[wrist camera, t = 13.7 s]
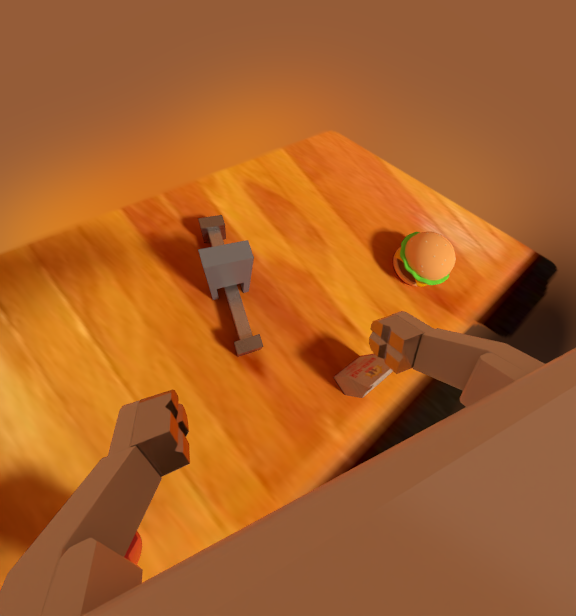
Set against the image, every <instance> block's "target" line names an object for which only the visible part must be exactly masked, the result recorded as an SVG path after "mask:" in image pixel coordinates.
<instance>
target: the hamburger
mask: <svg viewBox="0 0 576 616" xmlns="http://www.w3.org/2000/svg"><path fill="white" fill-rule="evenodd" d="M455 259H456V258H455V252H454V248H453V246H452V244H451V243H450V242H449V241H448V240H447V239H446V238H445V237H443V236H442V235H440V234H437V233H434V232H422V233H420V232H414V233H412V234H409V235H408V236H406V237H405V239H404V240H403V241H402V243H401V247H399V248H398V249H397V251H396V252H395V254H394V258H393V265H394V269H395V271H396V273H397V275H398V276H399V277H400V279H401V280H403V281H404V282H405V283H407V284H409V285H412V286H417V287H423V286H426V285H436V284H440V283H442V282H444V281H445V280H447V279H448V278H449V274H450V271H451V270H452V268H453V267H454V264H455Z"/></svg>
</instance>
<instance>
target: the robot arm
mask: <svg viewBox="0 0 576 616" xmlns="http://www.w3.org/2000/svg"><path fill="white" fill-rule="evenodd" d="M371 330H372V331H373V333H372V334H371V336H370V337H369V345H370V348H371V350H372V351H373V353H374V354H375V355H376V356H377V357H380V358H383V359H384V361H385V364H386V365H387V366H388V367H389V368H390V369H391V370H393V371H394V372H395V373H396V374H398V373H400V372H403V371H405V370H408V369H410V368H413V369H415V370H417V371H419V372H422V373H424V374H426V375H429V376H431V377H433V378H435V379H438V380H440V381H442V382H445V383H447V384H449V385H452V386H454V387H456V388H459V389H461V390H463V393H462V395H461V397H460V402H461V403H462V404H463V405H465V406H466V408H464V409H462V410H460V411H459V412H457V413H455V414H453V415H451V416H449V417H447V418H445V419H444V420H442V421H440V422H438V423H436V424H434V425H432V426H431V427H429V428H427V429H425V430H423V431H421V432H420V433H418V434H416V435H414V436H412V437H410V438H408V439H407V440H405V441H403V442H401V443H399V444H397V445H396V446H394V447H392V448H390V449H388V450H386V451H385V452H383V453H381V454H379V455H377V456H375V457H373V458H372V459H370V460H368V461H366V462H364V463H362V464H361V465H359V466H357V467H355V468H353V469H351V470H349V471H348V472H346V473H344V474H342V475H340V476H338V477H337V478H335V479H333V480H331V481H329V482H327V483H325V484H324V485H322V486H320V487H318V488H316V489H314V490H313V491H311V492H309V493H307V494H305V495H303V496H301V497H300V498H298V499H296V500H294V501H292V502H290V503H289V504H287V505H285V506H283V507H281V508H279V509H278V510H276V511H274V512H272V513H270V514H268V515H266V516H265V517H263V518H261V519H259V520H257V521H255V522H254V523H252V524H250V525H248V526H246V527H244V528H242V529H241V530H239V531H237V532H235V533H233V534H231V535H230V536H228V537H226V538H224V539H222V540H220V541H219V542H217V543H215V544H213V545H211V546H209V547H207V548H206V549H204V550H202V551H200V552H198V553H196V554H195V555H193V556H191V557H189V558H187V559H185V560H183V561H182V562H180V563H178V564H176V565H174V566H172V567H171V568H169V569H167V570H165V571H163V572H161V573H160V574H158V575H156V576H154V577H152V578H150V579H148V580H147V581H145V582H143V583H142V571H143V570H142V569H141V568H140V567H139V566H138V565H136V564H134V563H133V562H131V561H129V560H128V559H126V558H124V556H125V554H126V552H127V550H128V548H129V546H130V544H131V542H132V539H133V537H134V535H135V533H136V531H137V529H138V527H139V525H140V523H141V521H142V519H143V516H144V514H145V512H146V510H147V508H148V506H149V504H150V502H151V500H152V498H153V496H154V494H155V491H156V489H157V487H158V485H159V483H160V481H161V479H162V478H161V477H162V476H164V475H166V474H168V473H171V472H173V471H175V470H177V469H179V468H181V467H184V466H186V465H188V464H190V456H189V443H188V441H187V439H186V435H187V434H188V432H189V428H188V420H187V415H186V412H185V409H184V407H183V405H182V404H179V403H178V395H177V393H176V392H175V390H170V391H167V392H164V393H160V394H157V395H154V396H151V397H148V398H145V399H141V400H140V401H136V402H133V403H130V404H127V405H124V406H122V408H121V409H120V411H119V415H118V419H117V423H116V426H115V430H114V434H113V438H112V442H111V446H110V450H109V454H108V456H107V457H104V458H102V459H101V460H100V461H99V463H98V464H97V465H96V466H95V468H94V469H93V470H92V471H91V472H90V474H89V475H88V476H87V477H86V479H85V480H84V481H83V482H82V483H81V485H80V486H79V487H78V488H77V490H76V491H75V492H74V493H73V495H72V496H71V497H70V498H69V499H68V501H67V502H66V503H65V504H64V506H63V507H62V508H61V509H60V510H59V512H58V513H57V514H56V515H55V517H54V518H53V519H52V520H51V521H50V523H49V524H48V525H47V526H46V528H45V529H44V530H43V531H42V532H41V534H40V535H39V536H38V537H37V539H36V540H35V541H34V542H33V543H32V545H31V546H30V547H29V548H28V550H27V551H26V552H25V553H24V555H23V556H22V557H21V558H20V559H19V561H18V562H17V563H16V564H15V566H14V567H13V568H12V569H11V570H10V572H9V573H8V575H7V577H6V579H5V581H4V584H3V586H2V588H1V591H0V616H576V348H575V349H573V350H571V351H569V352H568V353H565V354H564V355H562V356H560V357H558V358H556V359H554V360H552V361H551V362H549V363H547V364H544V363H542V362H540V361H538V360H536V359H534V358H532V357H530V356H529V355H527V354H525V353H523V352H521V351H519V350H517V349H515V348H513V347H511V346H509V345H507V344H506V343H501V342H496V341H492V340H487V339H483V338H478V337H474V336H469V335H465V334H460V333H456V332H451V331H447V330H442V329H438V328H437V329H433V328H432V327H430V326H428V325H427V324H425V323H423V322H422V321H420V320H418V319H417V318H415V317H413V316H412V315H410V314H408V313H407V312H404V311H401V312H398V313H395V314H392V315H390V316H387V317H384V318H381V319H378V320H375V321H373V322H372V324H371Z"/></svg>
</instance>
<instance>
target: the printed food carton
mask: <svg viewBox="0 0 576 616" xmlns="http://www.w3.org/2000/svg"><path fill="white" fill-rule="evenodd" d="M392 371H393V370H391V369H390V368H389V367H388V366H387V365H386V364H385V361H384V359H383V358H380V357H377V356H376V355H375V354H370V355H363V356H359V357H358V358H357V359H356V360H354V361H353V362H352V363H350V364H349V365H348V366H347V367H345V368H344V369H343V370H342V371H340V372H339V373H338V374H337V375H335V376H334V379H335V380H336V382H337V383H338V385H339V386H340V388H341V389H342V391H343V392H344V394H345V395H348V396H354V397H359V398H363V397H364V396H365V395H366V394H367V393H369V392H370V391H371V390H372V389H373V388H374V387H375V386H377V385H378V384H379V383H380V382H381V381H382V380H383V379H385V378H386V377H387V376H388V375H389V374H390V373H391V372H392Z"/></svg>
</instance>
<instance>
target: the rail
mask: <svg viewBox="0 0 576 616" xmlns="http://www.w3.org/2000/svg"><path fill="white" fill-rule="evenodd" d="M198 219H199V224H200V228H201V232H202V236H203V239H204V243H207V242H210V243H211V247H215V246H220V245H224V242H223V240H224V239H226V232H225V223H224V220H223V217H222V215H218V216H212V217H205V218H198ZM224 291H225V294H226V297H227V301H228V304H229V308H230V311H231V314H232V318H233V321H234V324H235V328H236V331H237V335H238V338H239V341H236V342H234V346H235V349H236V353H237V356H238V357H239V356H242V355H245V354H248V353H251V352H254V351H257V350H260V349H261V348H262V347H263V344H262V340H261V337H260V334H258V335H255V336H252V333H251V329H250V326H249V323H248V320H247V316H246V313H245V310H244V307H243V303H242V300H241V297H240V294H239V290H238V287H237V284H235V285H231V286H227V287H224Z"/></svg>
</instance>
